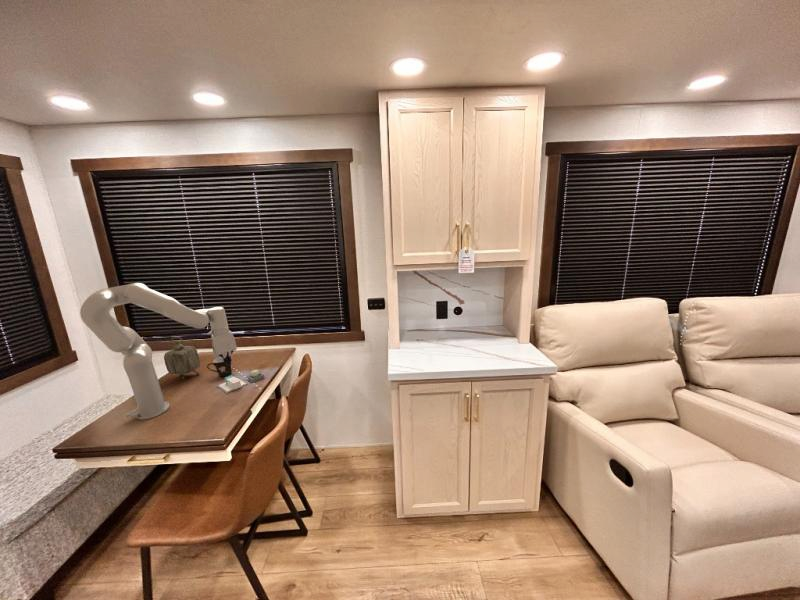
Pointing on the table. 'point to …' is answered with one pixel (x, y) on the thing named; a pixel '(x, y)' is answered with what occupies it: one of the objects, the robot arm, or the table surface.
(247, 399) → the table surface
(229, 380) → the white and teal box
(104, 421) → the table surface
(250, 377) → the button housing
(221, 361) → the coffee mug
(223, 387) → the cream flat slab
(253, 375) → the button
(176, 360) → the olive green backpack
